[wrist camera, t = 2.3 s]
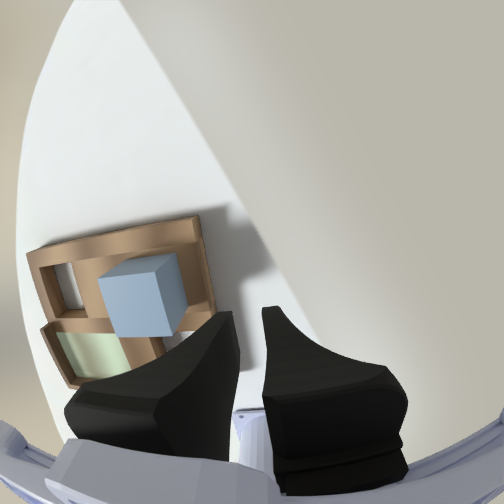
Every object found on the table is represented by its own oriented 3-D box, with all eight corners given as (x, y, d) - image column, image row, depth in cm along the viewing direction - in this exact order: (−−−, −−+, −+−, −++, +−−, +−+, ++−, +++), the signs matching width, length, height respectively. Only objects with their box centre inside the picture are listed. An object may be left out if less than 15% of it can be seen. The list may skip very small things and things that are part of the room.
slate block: (176, 252, 18) (154, 271, 14) (188, 306, 19) (172, 336, 15) (125, 259, 18) (97, 278, 14) (139, 310, 19) (116, 337, 15)
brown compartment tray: (198, 215, 19) (185, 223, 16) (231, 373, 23) (227, 400, 19) (38, 248, 20) (15, 257, 17) (83, 369, 24) (68, 388, 20)
